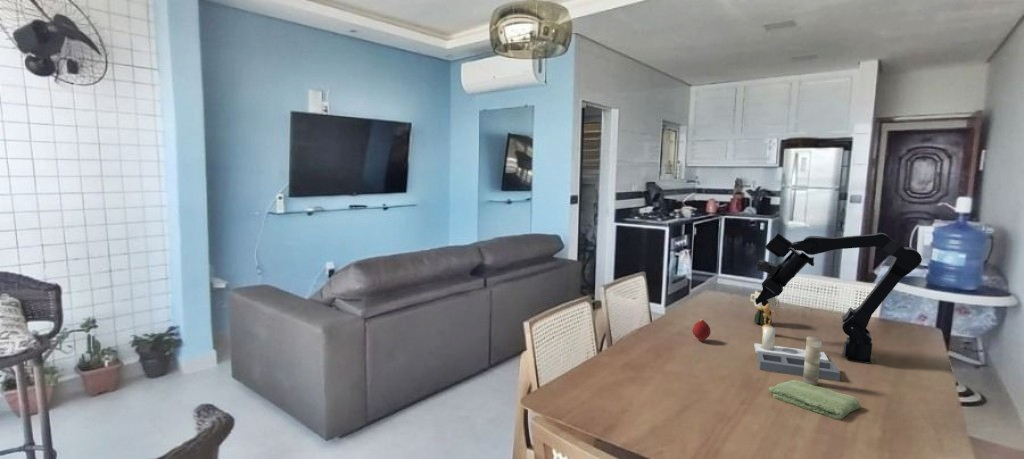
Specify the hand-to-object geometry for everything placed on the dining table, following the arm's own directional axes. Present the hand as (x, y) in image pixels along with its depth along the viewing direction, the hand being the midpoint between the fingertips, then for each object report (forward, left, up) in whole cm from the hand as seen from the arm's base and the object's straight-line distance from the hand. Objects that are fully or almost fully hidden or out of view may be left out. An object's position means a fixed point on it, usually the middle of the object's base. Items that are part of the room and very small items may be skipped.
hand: (758, 299), depth 173 cm
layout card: (-9, +10, -15) cm, 20 cm away
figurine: (-4, -8, -15) cm, 18 cm away
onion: (+18, +9, -15) cm, 25 cm away
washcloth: (-10, +47, -15) cm, 50 cm away
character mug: (-4, -23, -15) cm, 28 cm away
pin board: (-9, +24, -15) cm, 30 cm away
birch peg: (-12, +34, -15) cm, 39 cm away
